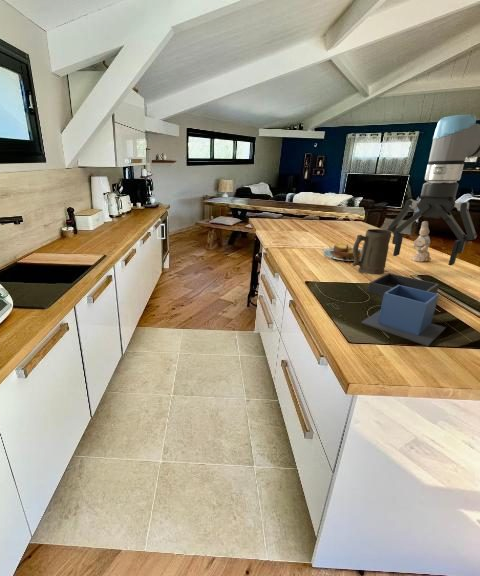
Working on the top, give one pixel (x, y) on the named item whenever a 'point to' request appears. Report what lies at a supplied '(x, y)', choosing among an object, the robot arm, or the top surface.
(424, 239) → the figurine
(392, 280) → the charcoal bin
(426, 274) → the top surface
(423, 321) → the blue bin
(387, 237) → the beer stein
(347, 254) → the food on plate
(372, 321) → the mat
